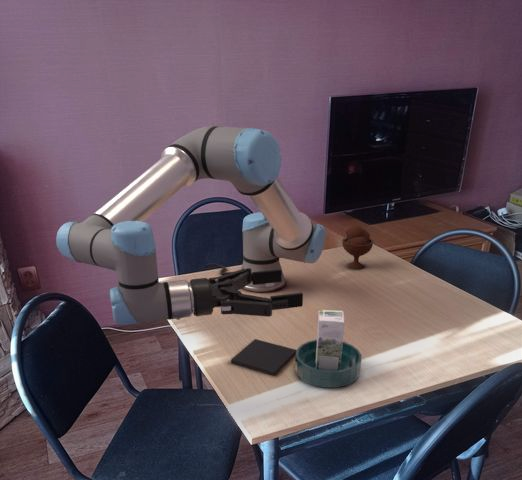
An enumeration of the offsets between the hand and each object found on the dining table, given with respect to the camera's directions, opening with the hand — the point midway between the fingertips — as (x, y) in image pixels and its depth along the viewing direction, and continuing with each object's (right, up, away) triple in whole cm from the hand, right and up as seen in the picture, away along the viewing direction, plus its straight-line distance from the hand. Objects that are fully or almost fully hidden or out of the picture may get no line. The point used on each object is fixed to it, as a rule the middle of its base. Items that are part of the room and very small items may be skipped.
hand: (291, 286), depth 106 cm
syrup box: (+9, -18, +14) cm, 25 cm away
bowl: (+9, -18, +14) cm, 25 cm away
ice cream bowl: (+28, +16, +74) cm, 81 cm away
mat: (-6, -15, +19) cm, 25 cm away
